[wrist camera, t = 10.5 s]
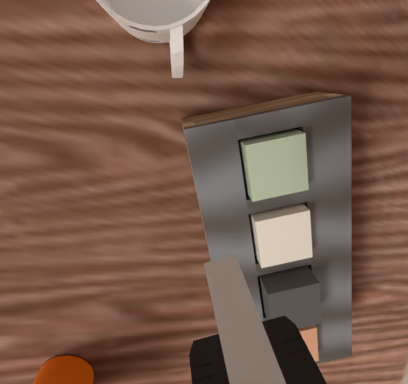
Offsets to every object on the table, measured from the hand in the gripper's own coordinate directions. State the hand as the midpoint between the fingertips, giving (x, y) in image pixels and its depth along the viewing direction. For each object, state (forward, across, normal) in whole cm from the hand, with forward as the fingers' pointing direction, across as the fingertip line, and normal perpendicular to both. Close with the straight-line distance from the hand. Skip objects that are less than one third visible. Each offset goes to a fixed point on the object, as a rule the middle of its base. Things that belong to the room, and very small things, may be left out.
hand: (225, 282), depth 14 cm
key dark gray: (+14, +7, -14) cm, 21 cm away
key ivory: (+16, +7, -7) cm, 19 cm away
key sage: (+16, +7, 0) cm, 17 cm away
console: (+19, +7, -11) cm, 23 cm away
